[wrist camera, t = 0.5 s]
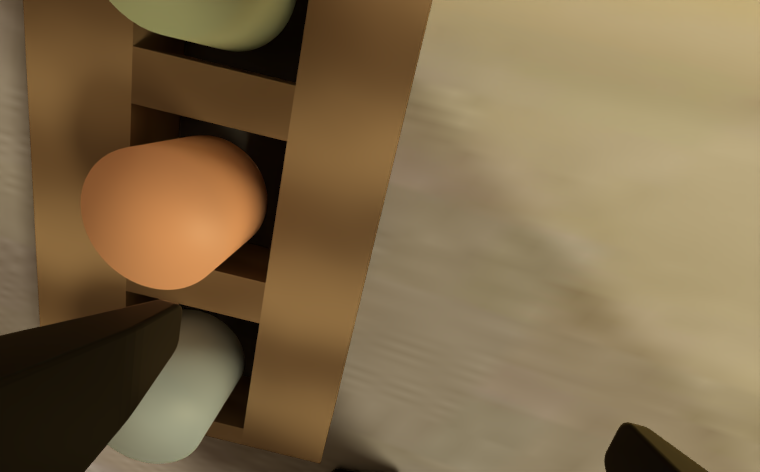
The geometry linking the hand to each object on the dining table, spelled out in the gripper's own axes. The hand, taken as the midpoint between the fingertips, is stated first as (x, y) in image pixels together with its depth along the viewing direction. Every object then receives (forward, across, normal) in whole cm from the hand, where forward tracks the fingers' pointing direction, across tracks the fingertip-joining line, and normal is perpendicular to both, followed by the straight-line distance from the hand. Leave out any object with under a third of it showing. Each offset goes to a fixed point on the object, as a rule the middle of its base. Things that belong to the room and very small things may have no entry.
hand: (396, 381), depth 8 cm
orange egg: (+9, +8, 0) cm, 12 cm away
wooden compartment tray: (+12, +8, 0) cm, 15 cm away
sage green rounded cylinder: (+10, +8, +8) cm, 15 cm away
